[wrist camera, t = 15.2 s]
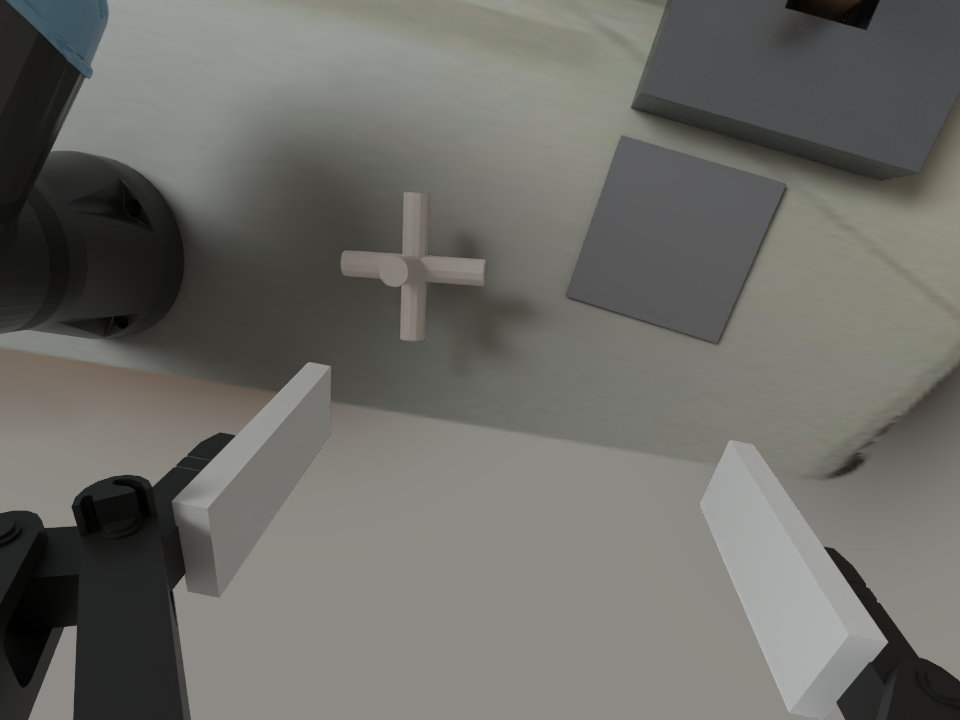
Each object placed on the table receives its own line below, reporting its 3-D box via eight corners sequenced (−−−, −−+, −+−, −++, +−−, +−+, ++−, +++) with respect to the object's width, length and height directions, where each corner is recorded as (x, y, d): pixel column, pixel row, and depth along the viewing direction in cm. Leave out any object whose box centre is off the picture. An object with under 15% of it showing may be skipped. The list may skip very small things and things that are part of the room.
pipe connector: (370, 197, 38) (312, 179, 28) (496, 204, 37) (480, 188, 27) (369, 323, 40) (315, 346, 31) (487, 332, 39) (470, 360, 30)
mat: (566, 295, 38) (566, 296, 38) (620, 136, 35) (621, 135, 35) (714, 342, 37) (716, 343, 37) (783, 184, 34) (786, 184, 34)
